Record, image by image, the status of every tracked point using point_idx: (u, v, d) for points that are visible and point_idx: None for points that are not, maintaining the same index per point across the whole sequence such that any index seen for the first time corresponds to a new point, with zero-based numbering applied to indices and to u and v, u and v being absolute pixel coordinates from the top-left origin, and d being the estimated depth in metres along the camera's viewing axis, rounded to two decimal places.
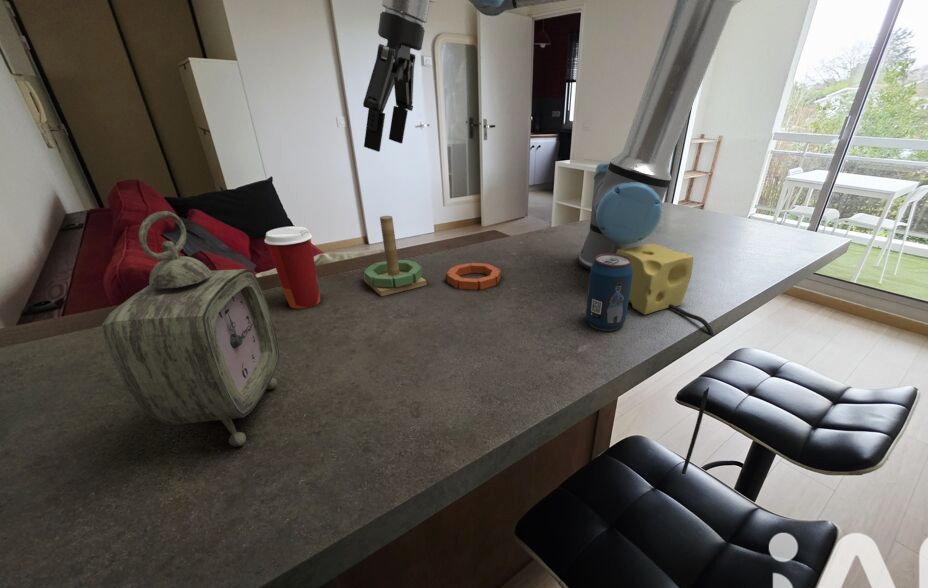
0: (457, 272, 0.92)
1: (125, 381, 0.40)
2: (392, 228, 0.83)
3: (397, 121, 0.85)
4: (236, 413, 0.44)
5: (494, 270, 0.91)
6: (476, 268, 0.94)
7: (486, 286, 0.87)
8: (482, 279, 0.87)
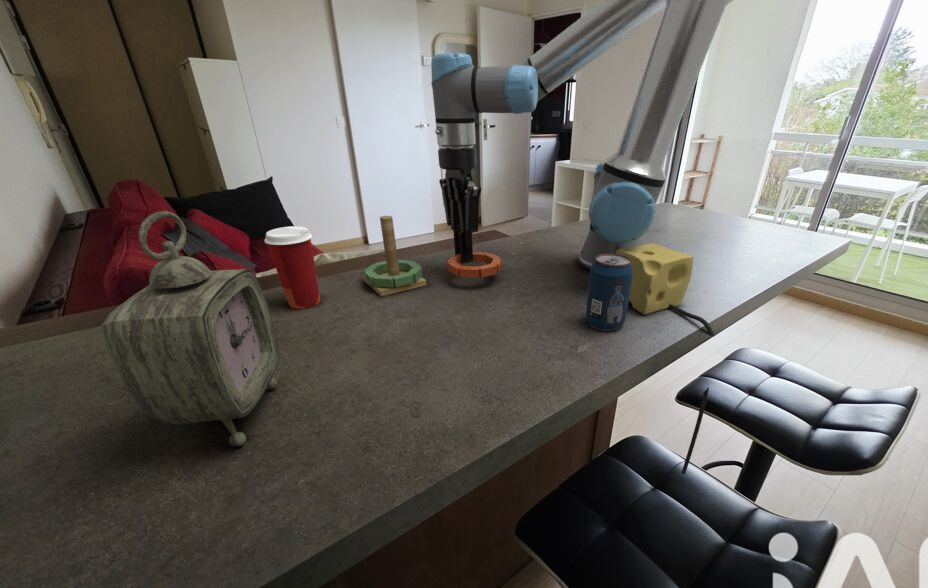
0: (458, 261, 0.90)
1: (125, 381, 0.40)
2: (392, 228, 0.83)
3: (460, 243, 0.92)
4: (236, 413, 0.44)
5: (495, 258, 0.90)
6: (477, 256, 0.93)
7: (487, 274, 0.86)
8: (483, 267, 0.85)
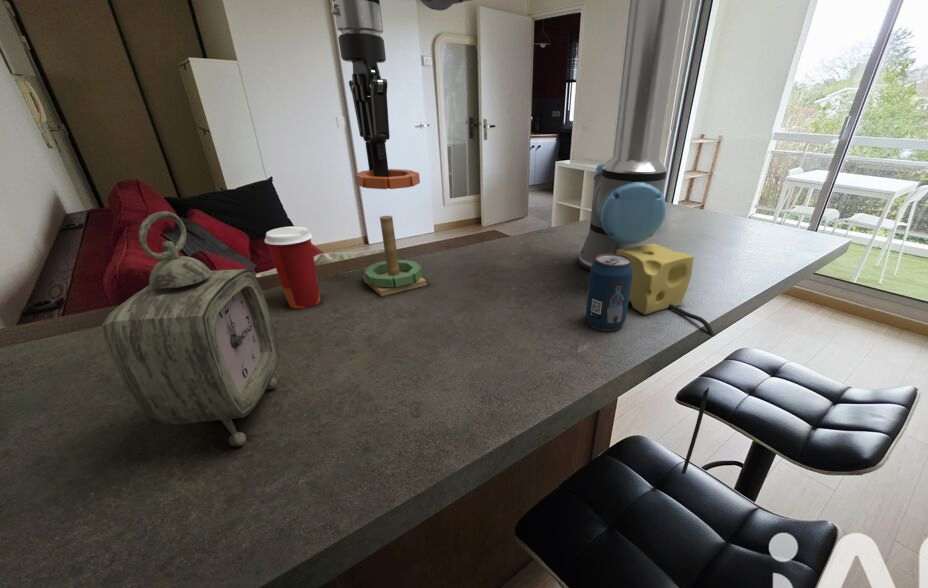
0: (370, 175, 0.80)
1: (125, 381, 0.40)
2: (392, 228, 0.83)
3: None
4: (236, 413, 0.44)
5: (412, 173, 0.79)
6: (393, 173, 0.82)
7: (398, 186, 0.75)
8: (393, 177, 0.75)
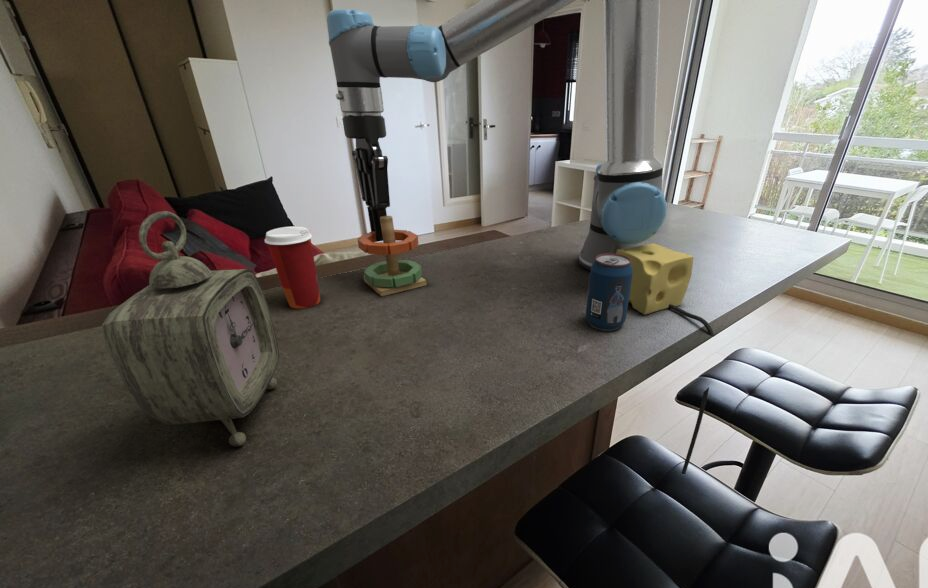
0: (371, 238, 0.85)
1: (125, 381, 0.40)
2: (392, 228, 0.83)
3: None
4: (236, 413, 0.44)
5: (411, 236, 0.85)
6: None
7: (398, 251, 0.81)
8: (393, 244, 0.80)
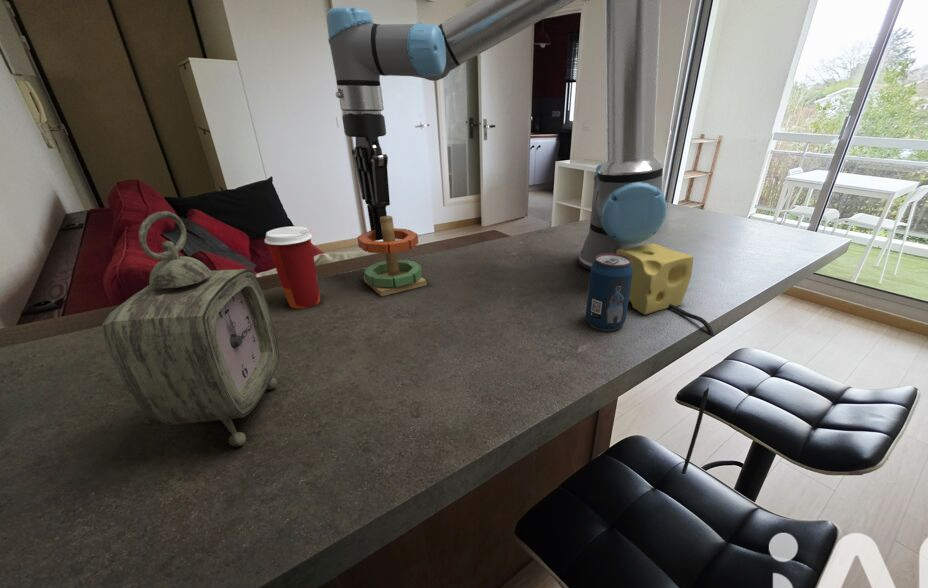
0: (371, 236, 0.85)
1: (125, 381, 0.40)
2: (392, 228, 0.83)
3: None
4: (236, 413, 0.44)
5: (410, 235, 0.85)
6: None
7: (398, 250, 0.81)
8: (393, 242, 0.80)
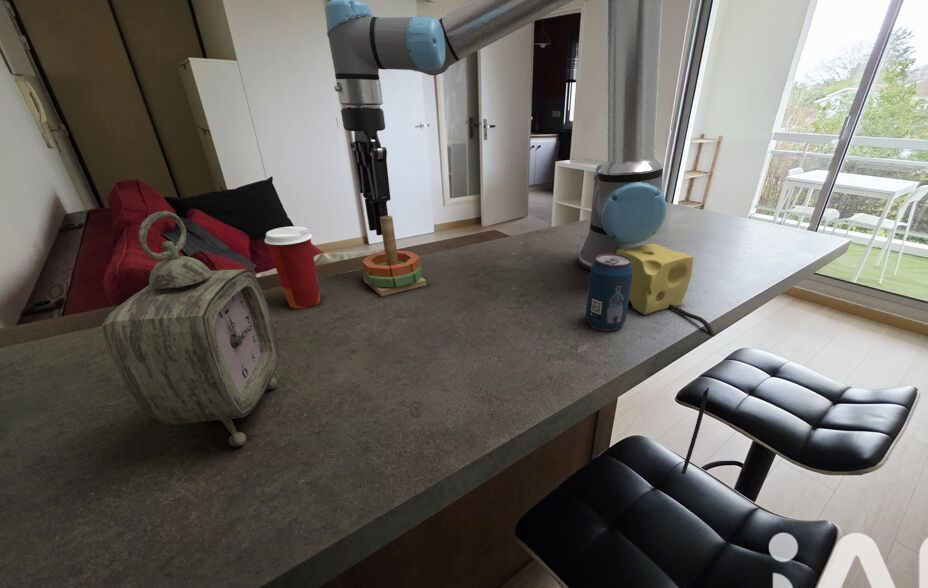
0: (375, 259, 0.89)
1: (125, 381, 0.40)
2: (392, 228, 0.83)
3: (373, 211, 0.87)
4: (236, 413, 0.44)
5: (413, 257, 0.88)
6: (397, 255, 0.91)
7: (399, 273, 0.84)
8: (395, 266, 0.84)
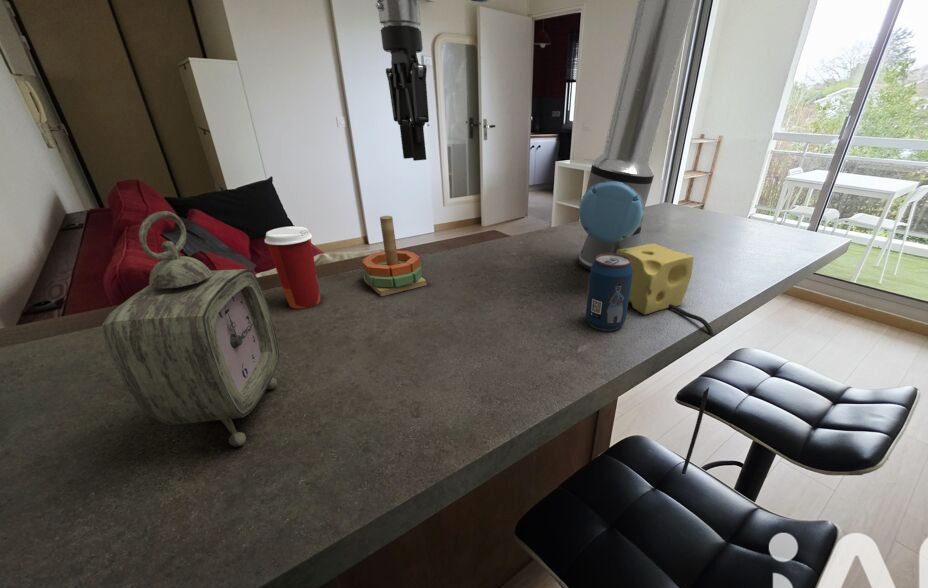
0: (375, 259, 0.89)
1: (125, 381, 0.40)
2: (392, 228, 0.83)
3: (407, 139, 0.89)
4: (236, 413, 0.44)
5: (413, 257, 0.88)
6: (397, 255, 0.91)
7: (399, 273, 0.84)
8: (395, 266, 0.84)
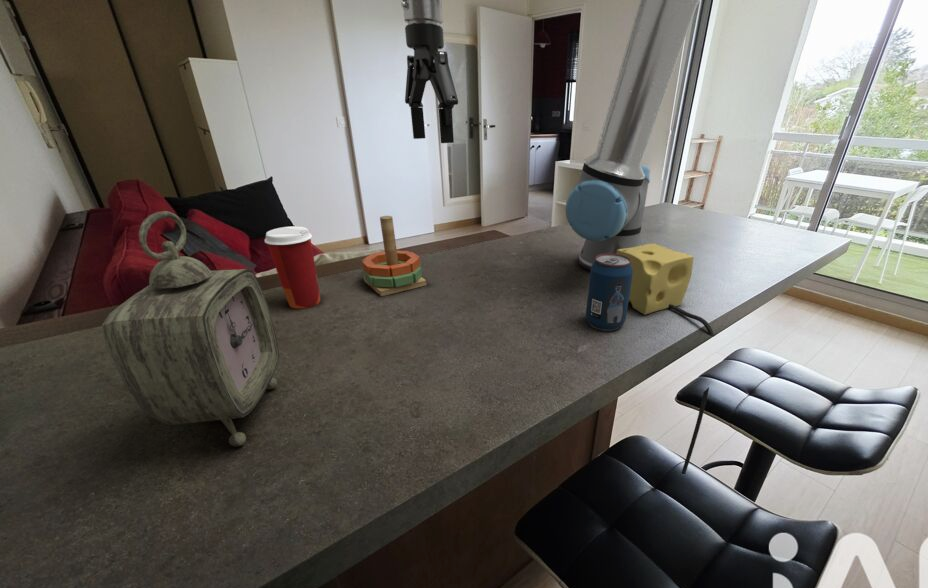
0: (375, 259, 0.89)
1: (125, 381, 0.40)
2: (392, 228, 0.83)
3: (417, 120, 0.96)
4: (236, 413, 0.44)
5: (413, 257, 0.88)
6: (397, 255, 0.91)
7: (399, 273, 0.84)
8: (395, 266, 0.84)
